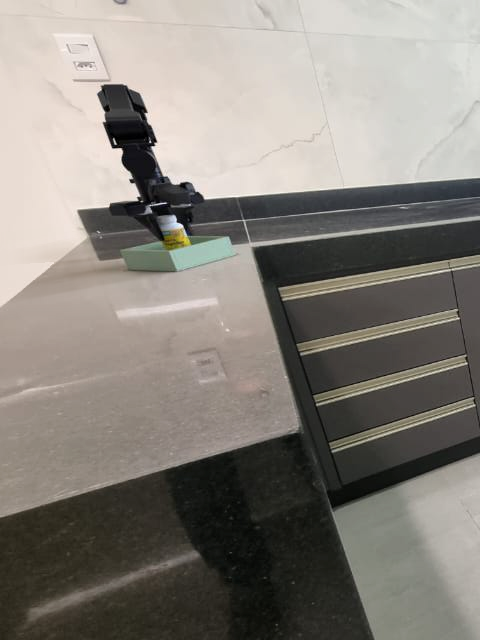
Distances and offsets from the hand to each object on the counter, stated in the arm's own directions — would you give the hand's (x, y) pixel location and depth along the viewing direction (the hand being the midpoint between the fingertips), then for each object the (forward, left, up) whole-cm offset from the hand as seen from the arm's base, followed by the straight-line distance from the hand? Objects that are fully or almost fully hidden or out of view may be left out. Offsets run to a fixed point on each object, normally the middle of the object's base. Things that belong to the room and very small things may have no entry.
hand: (174, 238), depth 133 cm
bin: (0, 0, -6) cm, 6 cm away
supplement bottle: (0, 0, -4) cm, 4 cm away
